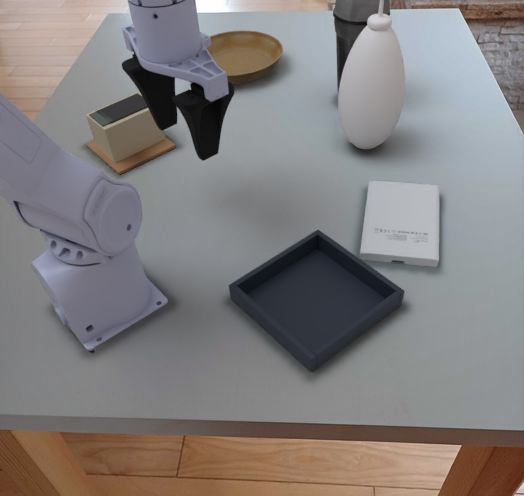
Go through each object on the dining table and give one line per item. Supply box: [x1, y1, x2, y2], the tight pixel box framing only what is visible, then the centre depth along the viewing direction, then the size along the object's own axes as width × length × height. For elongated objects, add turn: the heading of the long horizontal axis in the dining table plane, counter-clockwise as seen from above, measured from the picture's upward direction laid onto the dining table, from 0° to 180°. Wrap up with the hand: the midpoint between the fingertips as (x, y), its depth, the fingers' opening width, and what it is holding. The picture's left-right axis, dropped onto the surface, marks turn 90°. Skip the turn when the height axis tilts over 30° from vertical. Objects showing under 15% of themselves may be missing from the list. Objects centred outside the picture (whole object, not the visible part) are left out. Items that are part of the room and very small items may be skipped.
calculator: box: [85, 91, 166, 163], centre depth 69 cm, size 8×5×5 cm, turn 130°
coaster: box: [85, 136, 177, 175], centre depth 72 cm, size 9×9×1 cm
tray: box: [228, 229, 406, 373], centre depth 52 cm, size 12×12×2 cm
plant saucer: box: [207, 30, 284, 85], centre depth 82 cm, size 15×15×3 cm
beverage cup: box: [332, 0, 391, 94], centre depth 68 cm, size 7×7×20 cm
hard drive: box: [358, 180, 440, 268], centre depth 58 cm, size 2×8×12 cm
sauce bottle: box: [337, 0, 406, 150], centre depth 62 cm, size 8×8×18 cm
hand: (187, 140), depth 55 cm, fingers open, 7 cm apart
